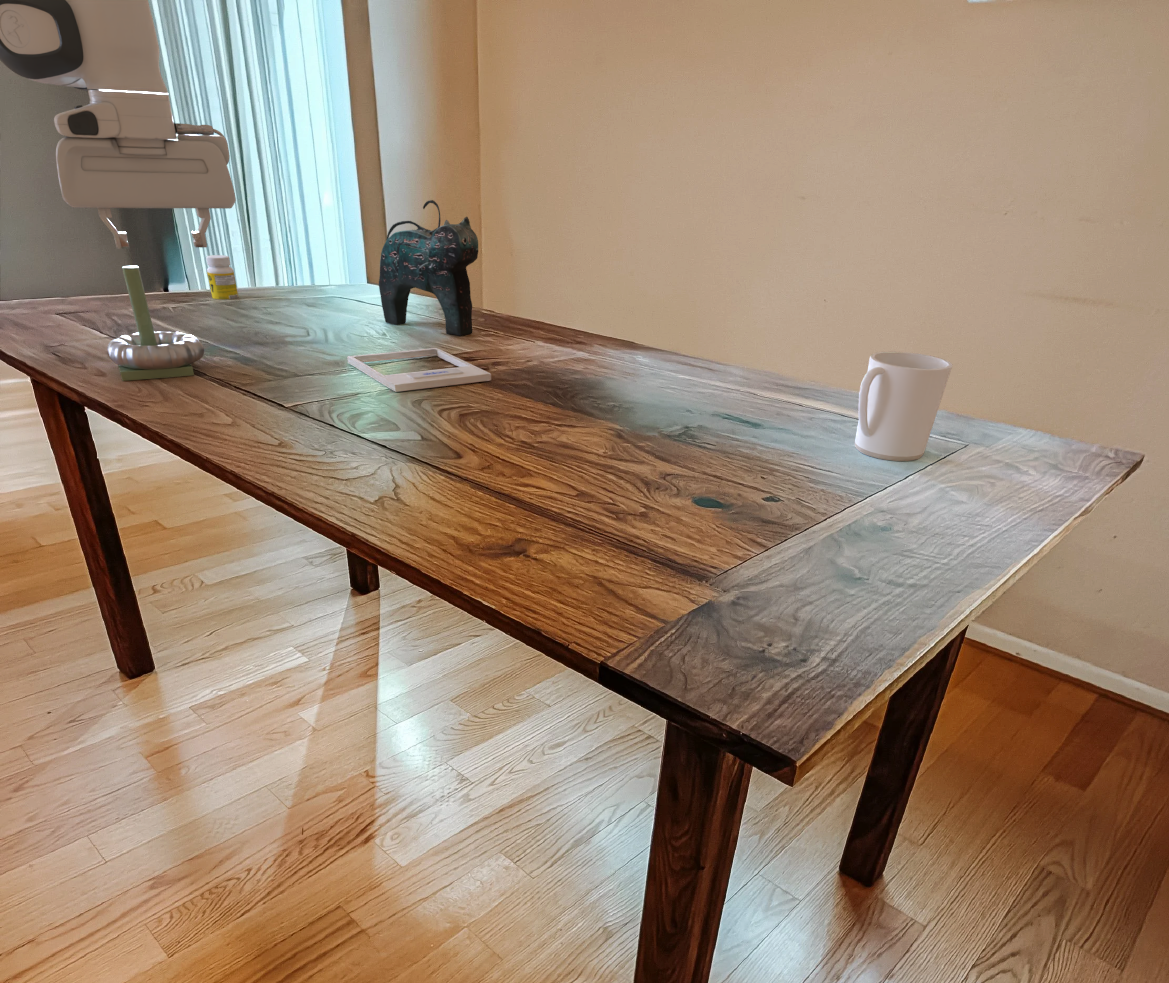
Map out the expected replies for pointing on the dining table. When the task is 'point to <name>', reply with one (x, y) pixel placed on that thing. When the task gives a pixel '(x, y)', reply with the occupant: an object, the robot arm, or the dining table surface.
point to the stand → (145, 330)
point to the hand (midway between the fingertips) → (162, 247)
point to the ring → (156, 351)
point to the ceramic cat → (429, 271)
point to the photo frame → (421, 378)
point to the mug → (899, 404)
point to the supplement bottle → (221, 277)
